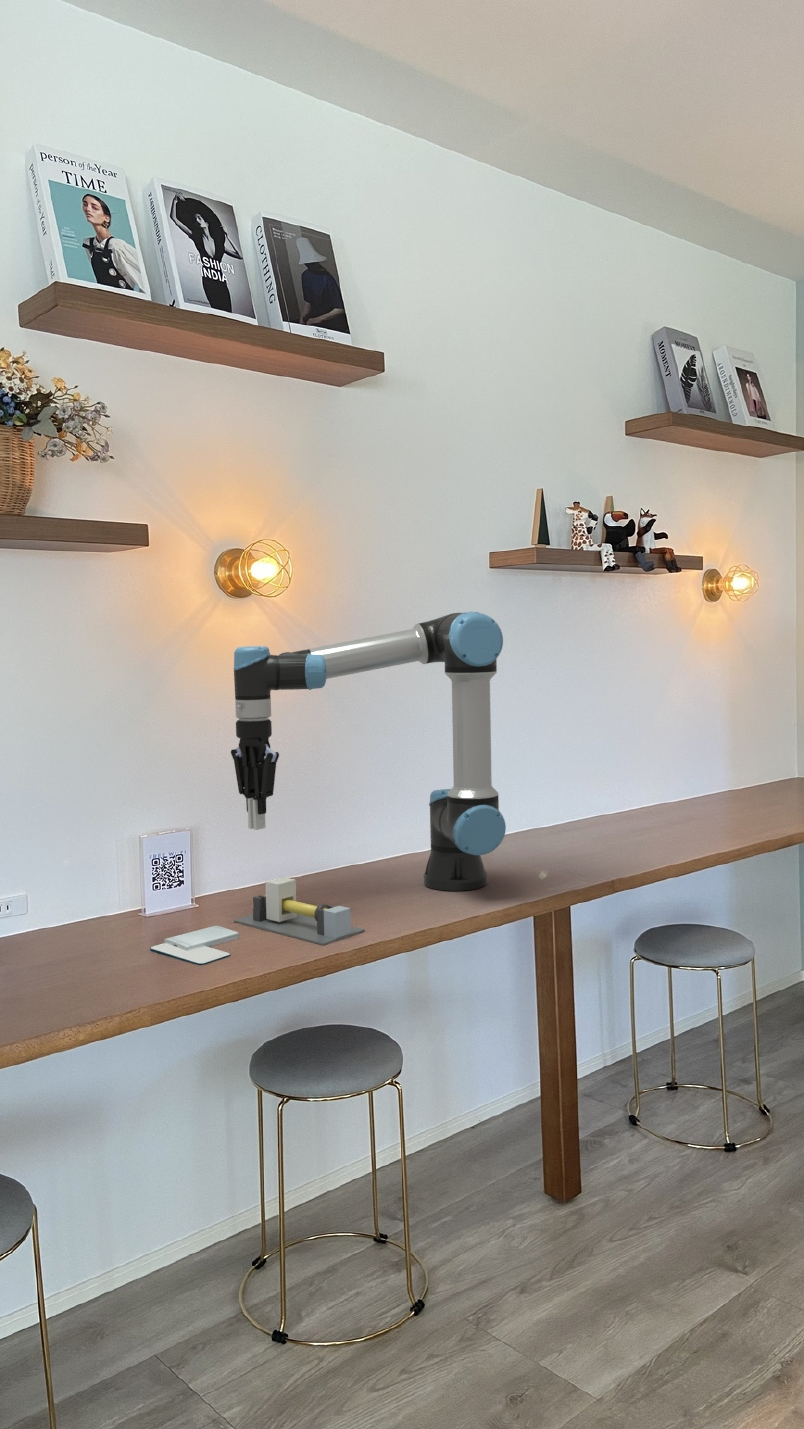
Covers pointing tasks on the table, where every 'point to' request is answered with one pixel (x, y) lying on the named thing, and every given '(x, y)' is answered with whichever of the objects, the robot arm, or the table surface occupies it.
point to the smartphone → (191, 953)
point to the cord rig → (304, 921)
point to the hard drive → (202, 938)
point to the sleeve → (279, 898)
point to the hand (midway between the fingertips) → (257, 828)
